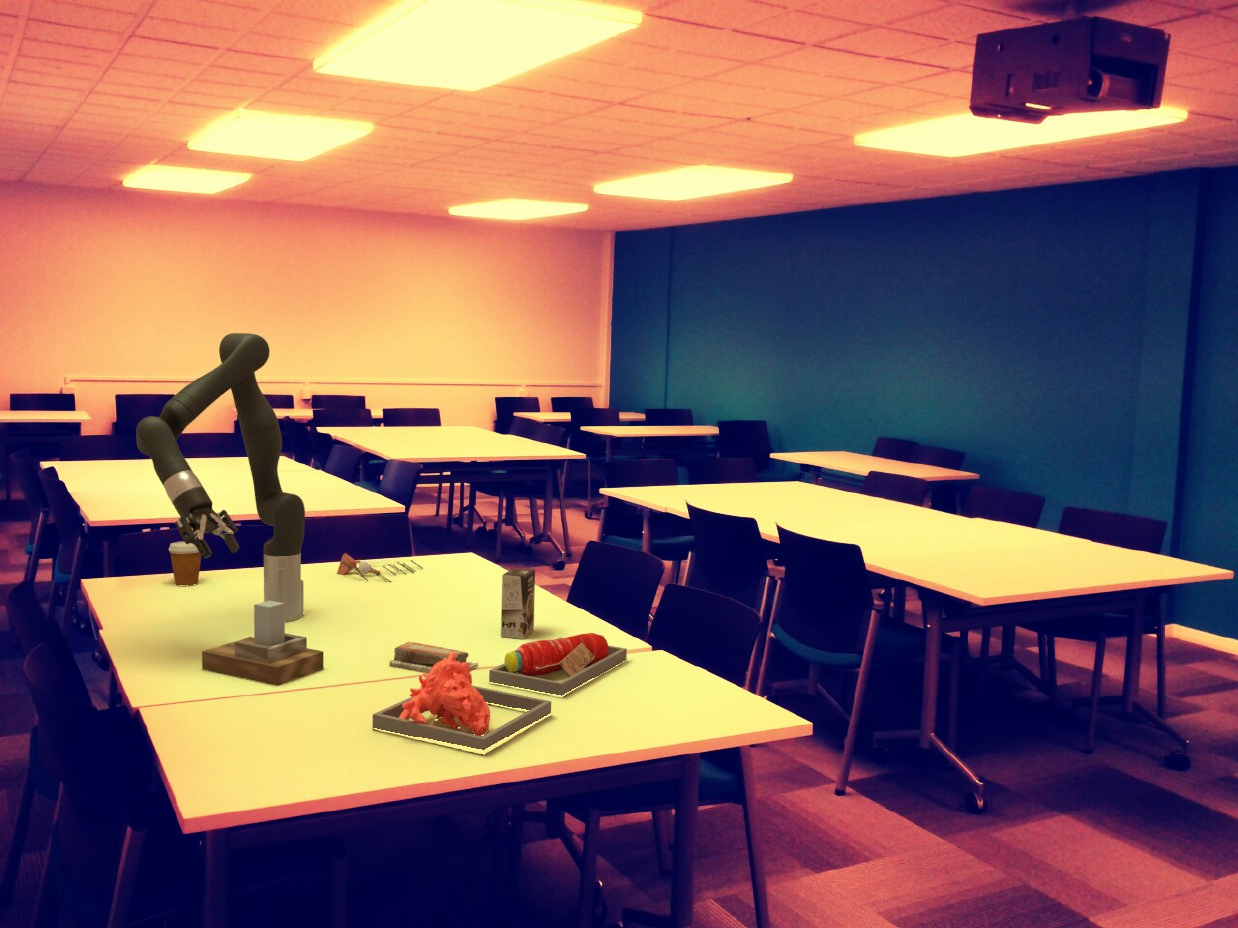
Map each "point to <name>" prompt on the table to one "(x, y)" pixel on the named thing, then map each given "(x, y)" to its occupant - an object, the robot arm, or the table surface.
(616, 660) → the bottle corral
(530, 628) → the coffee box
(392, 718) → the heart corral
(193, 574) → the disposable coffee cup
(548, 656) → the water bottle
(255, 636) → the slate post
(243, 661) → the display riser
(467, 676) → the heart model
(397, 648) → the packaged product
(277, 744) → the table surface
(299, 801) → the table surface
